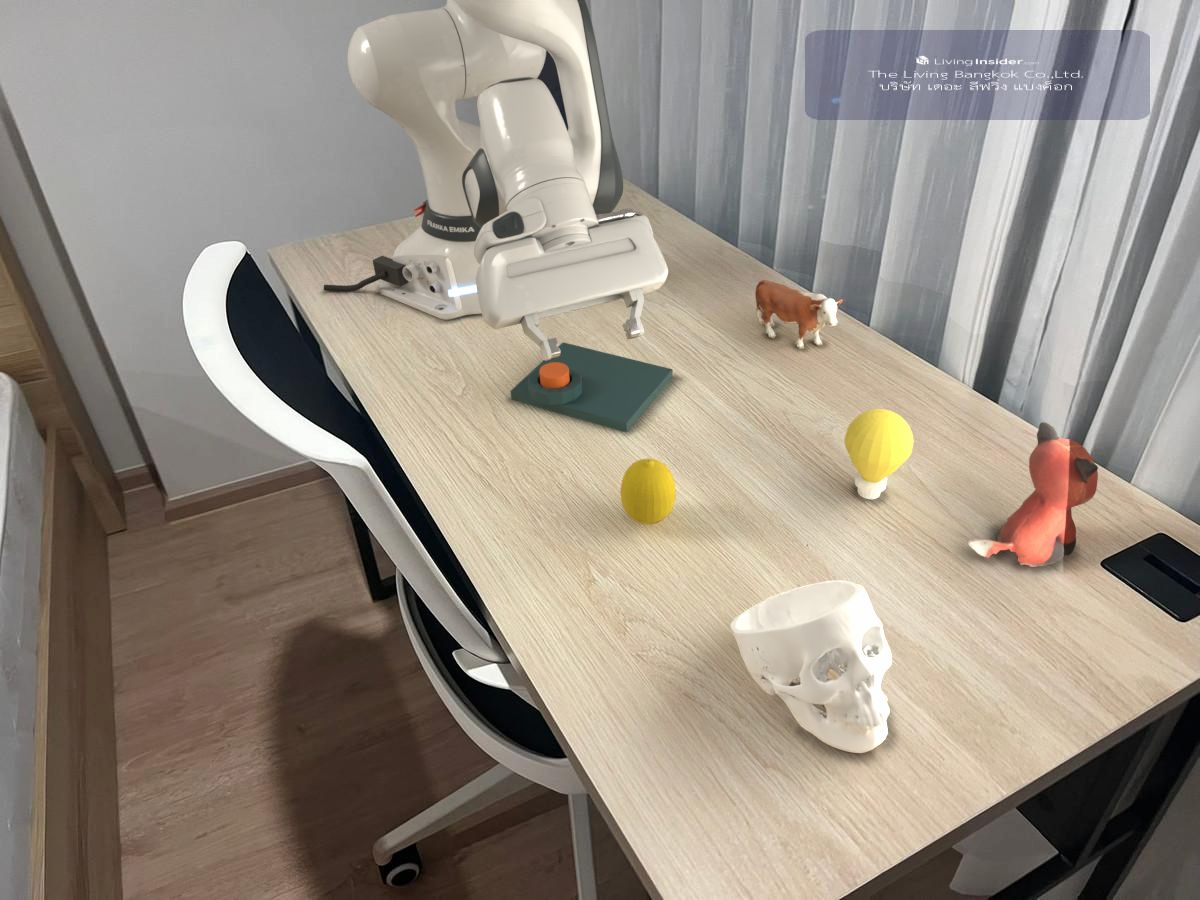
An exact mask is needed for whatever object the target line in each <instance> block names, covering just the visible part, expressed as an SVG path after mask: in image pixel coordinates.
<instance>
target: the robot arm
mask: <svg viewBox="0 0 1200 900" xmlns="http://www.w3.org/2000/svg"><path fill="white" fill-rule="evenodd" d="M547 52H548V54H549V55H550V56H551V58H552V59H553V62H554V63H555V67H556V71H557V76H558V81H559V87H560V91H561V96H562V102H563V106H564V112H565V118H566V122H567V126H566V123H565V120H564V118H563V116H562V114H561V112H560V111H561V110H560V108H559V106H558V105H557V102H556V100H555V98H554V97H553V95H552V93H551V91H550V89H549V88H548V86H547V85H546V84H545V82H543V80H541V79H539V76H540V75H541V72H542V70H543V68H544V64H545V62H546V57H547ZM346 59H347V68H348V73H349V76H350V79H351V82H352V84H353V85H354V87H355V89H356V91H357V93H359V95H360V96H361V97H362V98H363V99H364V100H365V102H367V103H368V104H370V106H372V107H373V108H375V109H377V110H379V111H380V112H382V113H384V114H386V115H387V116H389V117H390V118H391V119H392V120H394V121H395V122H396V123H397V124H398V125H399V126H400V127H401V128H402V130H404V132H405V133H406V134H407V136H408V137H409V138H410V140H411V142H412V144H413V146H414V148H415V150H416V153H417V155H418V159H419V163H420V167H421V170H422V175H423V180H424V185H425V191H426V196H427V197H426V198H427V199H426V200H425V201H423V202H422V204H421V205H419V206H418V207H416V208H414V209H413V212H415V214H414V217H415V218H417V217H419V216H421V215H423V216H422V221H421V225H420V226H419V227H417V228H416V229H415V230H413V232H412V233H410V235H408V236H407V237H405V238H404V240H402V241H401V242H400V243H399V244H398V245H397V246H396V248H395V249H394V252H393V254H392V258H391V257H388V256H385V255H380V256H378V257H376V258H374V259H372V265H373V270H374V275H372V276H369V277H367V278H364V279H362V280H361V281H359V282H358V283H356V284H350V285H340V284H324V285H323V291H325V292H355V291H359V290H361V289H362V288H365V287H366V286H368V285H370V284H372V283H375V282H377V281H379V280H381V282H380V284H379V294H381V295H382V296H385V297H387V298H390V299H392V300H394V301H397V302H399V303H402V304H404V305H406V306H409V307H412V308H413V309H417V310H418V311H421V312H423V313H426V314H428V315H431V316H432V317H435V318H437V319H440V320H445V321H447V320H454V319H457V318H461V317H464V316H469V315H480V314H481V316H482V318H483V321H484V323H485V324H486V325H487V326H489V327H490V328H492V329H493V330H499V329H504V328H507V327H511V326H516V325H521V328H522V332H523V334H524V335H526V337H528V338H529V339H530V340H531V341H532V342H533V343H534V344H535V345H537V347H538V346H539V349H540V353H541V355H542V358H543V360H545V361H547V360H551V359H554V358H558V357H559V356H560V354H561V352H560V348H559V347H558V346H559V342H558V339H557V337H552V338H548V337H547V335H546V334H545V333H544V332H542V330H541V329H539V325H540V324H541V321H540V320H541V319H545V318H549V317H550V318H551V317H553V316H558V315H561V314H567V313H570V312H574V311H578V310H582V309H586V308H590V307H591V308H592V307H595V306H600V305H603V304H608V303H611V302H617V301H620V300H623V301H624V304H625V307H626V308H627V309H628V308H631V309H630V315H629V318H628V319H626V320H625V322H623V324H622V328H623V331H624V332H625V337H626V339H627V340H632V339H636V338H637V339H638V338H641V337H642V336H643V335H644V334H645V329H644V325H643V322H642V320H641V317H642V312H643V307H644V304H645V303H644V302H645V297H644V295H646V294H649V293H654V292H656V291H658V290H659V289H660V288H661V287H662V286H663V285H664V284H665V283H666V281H667V278H668V275H669V268H668V265H667V262H666V260H665V257H664V255H663V253H662V251H661V249H660V247H659V244H658V243H657V240H656V239H655V237H654V230H653V228H652V225H651V222H650V219H649V218H648V216H647V215H645V214H644V213H642V212H640V211H635V210H633V208H623V209H620V210H619V211H614V210H615V209H616V207H617V205H618V204H619V202H620V200H621V199H622V197H623V194H624V178H623V171H622V166H621V163H620V159H619V155H618V152H617V148H616V145H615V141H614V138H613V133H612V128H611V121H610V117H609V109H608V104H607V99H606V93H605V87H604V86H605V85H604V79H603V74H602V67H601V63H600V57H599V51H598V45H597V41H596V35H595V29H594V26H593V21H592V17H591V14H590V10H589V8H588V4H587V1H586V0H446V4H445V5H444V6H441V7H439V8H433V9H426V10H425V9H424V10H417V11H411V12H401V13H395V14H389V15H387V16H384V17H381V18H378V19H375V20H373V21H370V22H368V23H366V24H363V25H361V26H358V27H357V28H356V29H355V31H354V32H353V34H352V35H351V39H350V40H349V44H348V49H347V58H346ZM476 98H477V102H476V107H477V115H478V120H479V125H476V124H473V123H470V122H466V121H464V120H461V119H459V117H458V114H457V109H456V103H458V102H461V101H465V100H470V99H476ZM416 211H417V212H416Z"/></svg>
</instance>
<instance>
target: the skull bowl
mask: <svg viewBox="0 0 1200 900" xmlns="http://www.w3.org/2000/svg"><path fill="white" fill-rule="evenodd" d="M730 630H731V632H732V635H733V637H734V639H735V641H736V644H737V646H738V649H739V652H740V656H741V658H742V661H743V662H744V665H745V667H746V669H747V671H748V673H749V674H750V676H751V677H752V679H753V680H754V682H755V683H756V684H757V685H759V687H760V688H761V689H762V690H763V691H764V692H765V693H767V694H768V695H770V696H776V695H777V696H778V697H779V698H781V700H782V701H783V703H785V704H786V706H787V708H788V709H789V711H790V712H791V714H792V716H793V717H794V719H795V720H796V722H797V724H799V726H800V727H801V728H802V729H804V730H805V731H806V732H809V733H810V734H812V735H813V736H814V737H816V738H817V739H819V740H820V741H821V742H822V743H824V744H826V745H827V746H830V747H832V748H834V749H837V750H841V751H843V752H848V753H851V754H863V753H868V752H870V751H873V750H874V749H875V748H877V747H879V746H880V745H881V744H883V742H884V741H885V740H886V738H887V736H888V734H889V730H888V725H887V720H888V717H889V715H890V713H891V711H890V707H889V704H888V697H887V695H885V693H884V692H883V691H882V687H881V684H882V680H883V677H884V675H885V673H886V671H888V669H889V668H890V667H892V663H893V656H892V652H891V649H890V646H889V644H888V641H887V639H886V636H885V632H884V629H883V622H882V621H881V619H880V618H879V617H878V616H877V614H876V612H875V610H874V608H873V605H872V602H871V600H870V598H869V595H868V593H867V591H866V590H865V587H864V586H863V585H862V584H859V583H855V582H852V581H848V580H840V579H839V580H838V579H836V580H835V579H834V580H826V581H819V582H815V583H811V584H810V583H809V584H806V585H802V586H797V587H795V588H791V589H788V590H785V591H782V592H779V593H777V594H774V595H772V596H770V597H768V598H766V599H764V600H762V601H760V602H758V603H756V604H754V605H753V606H751V607H749V608H747V609H745V610H744V611H742V612H741V613H739V614H738V615H737V616H736V617H735V618H733V620H732V621H731V623H730ZM830 669H831V670H832V671H834V672H836V673H837V674H838V675H839V676H837V677H836V679H832V678H828V676H829V674H828V673H829V670H830ZM792 683H794V684H796V685H791V684H792ZM798 683H800V684H798ZM815 705H823V706H824V708H825V710H826V711H824V710H822V709H820V708H818V707H816V706H815Z"/></svg>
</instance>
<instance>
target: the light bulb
mask: <svg viewBox="0 0 1200 900" xmlns="http://www.w3.org/2000/svg"><path fill="white" fill-rule="evenodd" d="M844 447H845V450H846V452H847V454H848V456H849V459H850V462H851V463H852V465H853V466H854V468H855V469H856V471H857V472H856V474H855V478H854V484H855V487H857V494H858V496H860V497H861V498H863V499H865V500H875V499H877V498H879V497H880V496H881V493H882V492H884V491H885V490H886V488H887V485H888V480H889V478H888V477H889V476H890V475H892V474H893V473H895V472H896V471H897V470H898V469H899V468H900V467H901V466H902V465H903V464H904V463H905V462H906V461H907V460H908V459H909V458H910V457H911V454H912V452H913V448H914V434H913V431H912V429H911V427H910V425H909V424H908V422H907V421H906V420H905V418H903V417H902V416H901V415H900V414H898V413H897V412H894V411H892V410H889V409H884V408H874V409H869V410H866V411H864V412H861V413H860V414H858V415H857V416H855V418H854V419H853V420H852V421H850V423H849V425H848V427H847V429H846V433H845V435H844Z"/></svg>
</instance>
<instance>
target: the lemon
mask: <svg viewBox="0 0 1200 900" xmlns="http://www.w3.org/2000/svg"><path fill="white" fill-rule="evenodd" d="M676 497H677V491H676V482H675V479H674V476H673V474H672V472H671V470H670V469H669V467H668V466H667V465H666V464H664V463H663V462H662V461H660V460H657V459H655V458H641V459H639V460H637V461H635V462H633V463H631V465H630V466H629V467H628V468H627V469H626V471H625V472H624V474H623V476H622V480H621V486H620V499H621V504H622V507H623V509H624V511H625V513H626V514H627V516H628V517H630V519H632V520H633V521H635V522H637V523H639V524H643V525H653V524H657V523H660V522H662V521H663V520H664V519H666V518H667V517H668V516H669V515H670V513H671V512H672V510H673V508H674V506H675V502H676Z"/></svg>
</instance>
